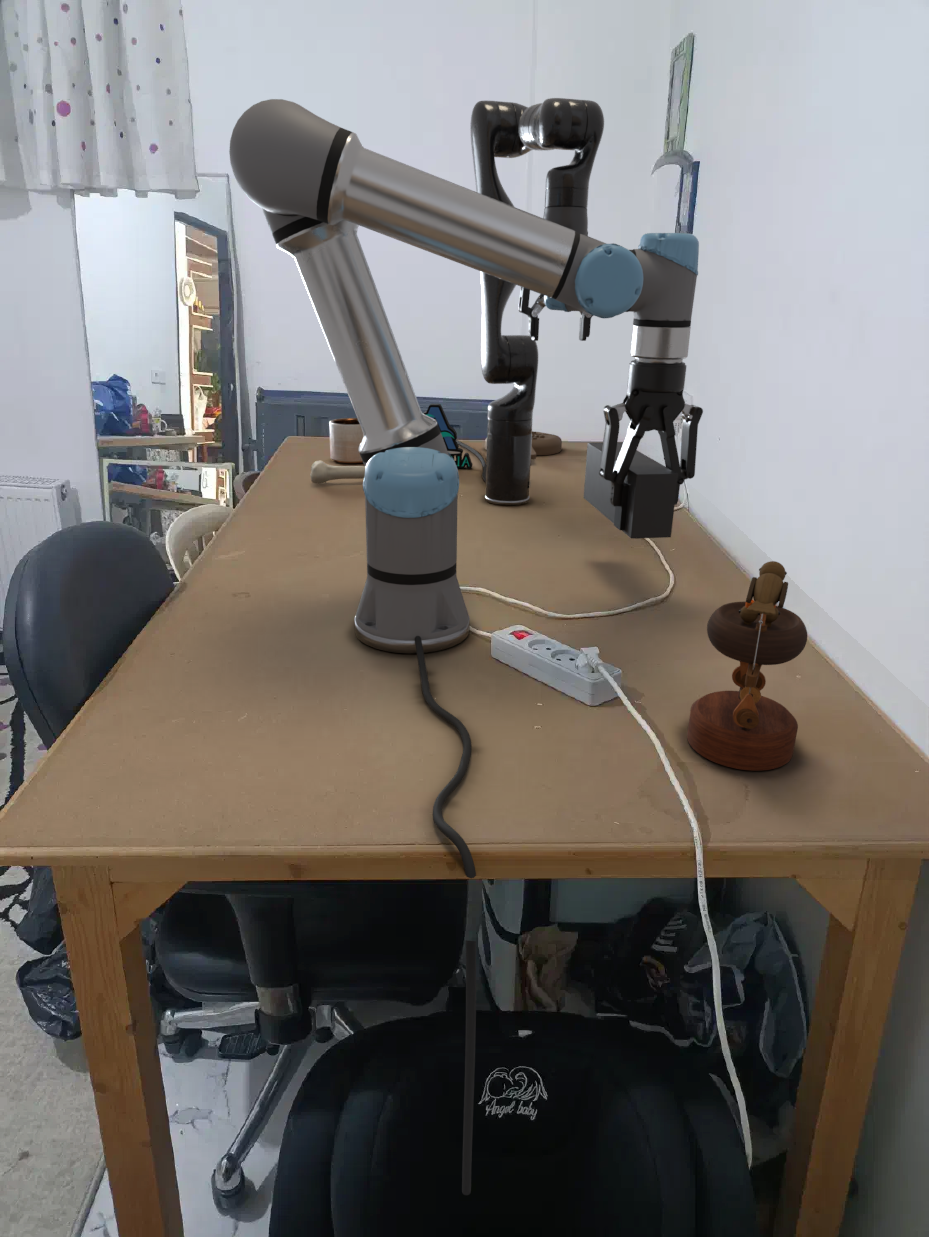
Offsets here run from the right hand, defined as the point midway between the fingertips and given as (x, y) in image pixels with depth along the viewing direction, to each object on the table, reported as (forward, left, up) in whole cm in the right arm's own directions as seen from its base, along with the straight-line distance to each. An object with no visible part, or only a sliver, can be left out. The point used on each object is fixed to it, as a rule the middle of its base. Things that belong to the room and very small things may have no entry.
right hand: (558, 340), depth 147 cm
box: (+30, -1, -23) cm, 38 cm away
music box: (+78, -12, -34) cm, 86 cm away
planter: (-70, -24, -34) cm, 81 cm away
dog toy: (-45, -28, -34) cm, 63 cm away
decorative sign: (-57, -6, -34) cm, 67 cm away
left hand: (+38, -2, -23) cm, 44 cm away
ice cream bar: (-67, +22, -34) cm, 78 cm away
